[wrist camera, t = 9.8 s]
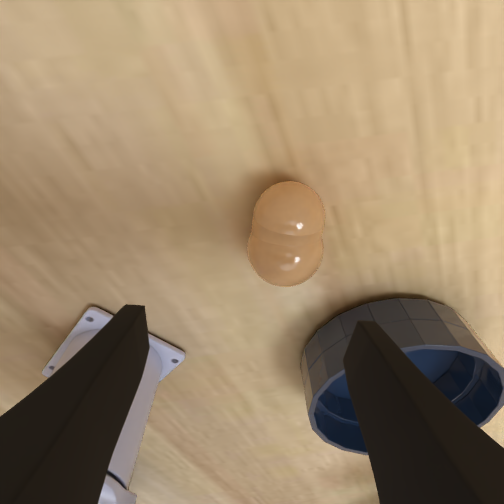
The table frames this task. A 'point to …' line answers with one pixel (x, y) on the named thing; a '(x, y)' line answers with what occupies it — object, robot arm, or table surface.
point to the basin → (416, 349)
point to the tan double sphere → (287, 234)
